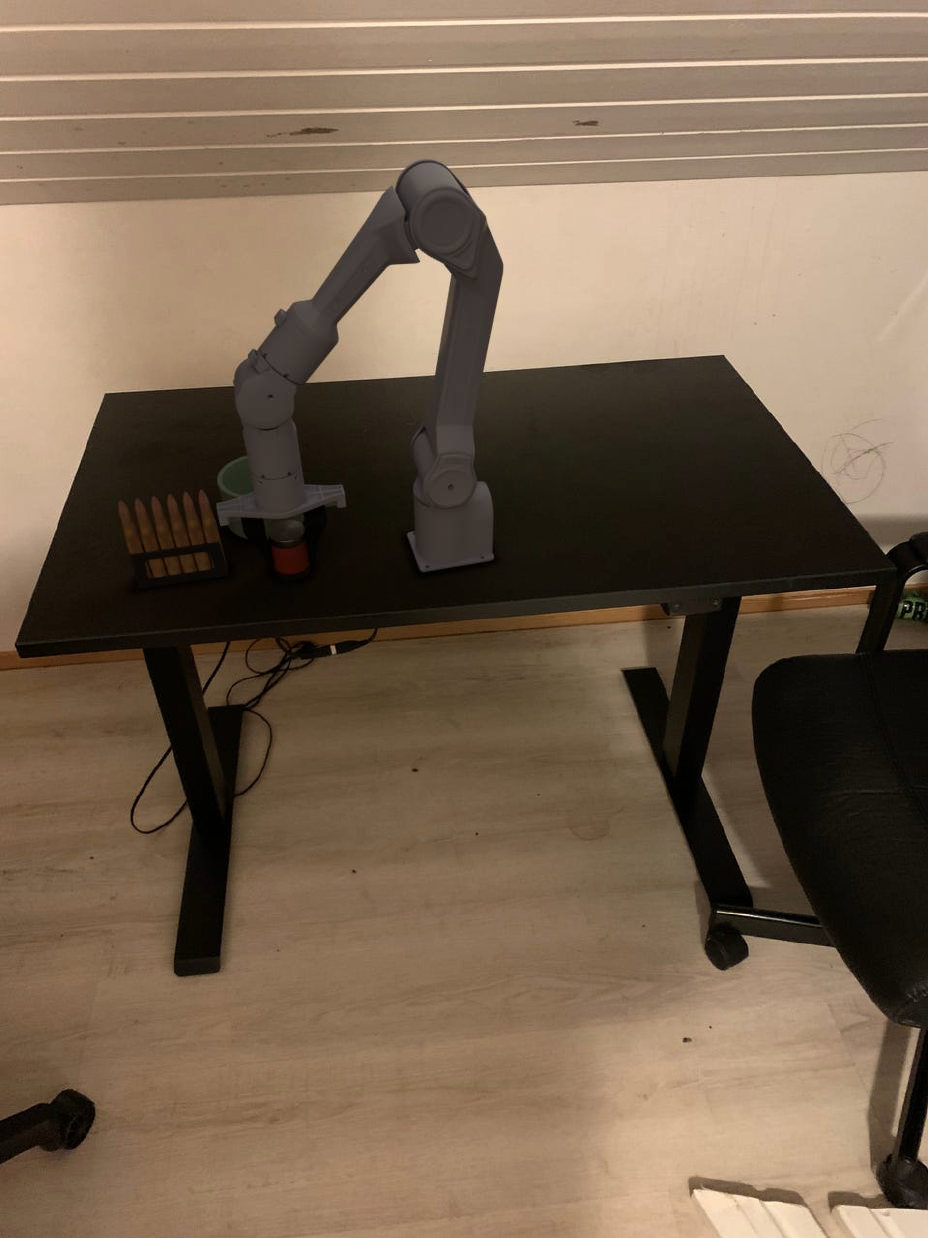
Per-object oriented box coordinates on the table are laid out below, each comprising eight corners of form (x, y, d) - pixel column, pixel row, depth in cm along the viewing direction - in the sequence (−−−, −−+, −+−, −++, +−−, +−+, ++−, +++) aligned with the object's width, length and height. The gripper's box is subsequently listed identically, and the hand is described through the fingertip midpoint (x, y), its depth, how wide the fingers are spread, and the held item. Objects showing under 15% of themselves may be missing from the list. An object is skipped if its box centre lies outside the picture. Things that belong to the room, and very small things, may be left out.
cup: (300, 489, 119) (294, 448, 115) (311, 533, 112) (305, 491, 108) (224, 500, 117) (214, 459, 113) (229, 546, 110) (219, 503, 106)
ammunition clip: (228, 565, 107) (209, 484, 99) (229, 575, 106) (209, 493, 98) (138, 579, 105) (111, 497, 97) (138, 588, 104) (110, 506, 96)
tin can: (308, 555, 109) (302, 516, 105) (313, 577, 106) (307, 538, 101) (272, 561, 108) (265, 522, 104) (276, 583, 105) (269, 544, 101)
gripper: (334, 438, 101) (345, 532, 110) (207, 455, 98) (228, 550, 107) (344, 470, 96) (354, 565, 105) (210, 490, 93) (233, 586, 102)
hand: (291, 560), depth 106 cm, fingers closed on tin can, 4 cm apart
